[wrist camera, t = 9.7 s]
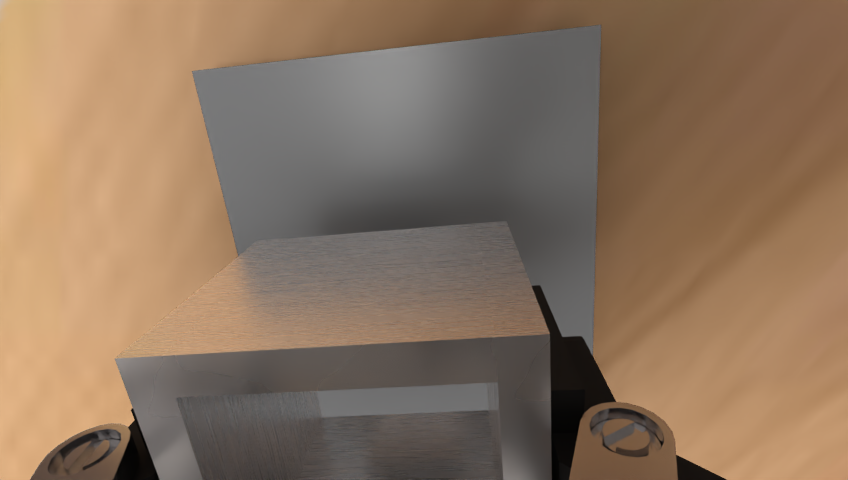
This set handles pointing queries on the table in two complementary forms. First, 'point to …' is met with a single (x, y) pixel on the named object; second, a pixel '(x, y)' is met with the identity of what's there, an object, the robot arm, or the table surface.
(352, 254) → the collar
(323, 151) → the stand
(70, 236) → the table surface
